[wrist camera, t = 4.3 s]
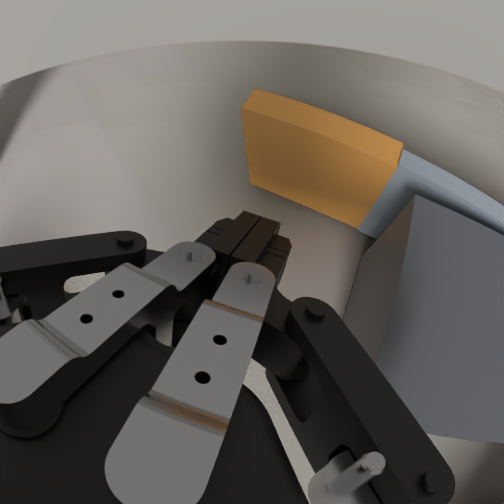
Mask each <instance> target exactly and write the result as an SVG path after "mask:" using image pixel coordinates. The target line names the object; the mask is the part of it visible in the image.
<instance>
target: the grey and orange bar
mask: <svg viewBox="0 0 504 504" xmlns="http://www.w3.org/2000/svg"><path fill="white" fill-rule="evenodd" d="M241 112H242V120H243V128H244V137H245V145H246V153H247V161H248V170H249V178H250V184H253V185H255V186H258V187H260V188H263V189H265V190H268V191H270V192H273V193H275V194H278V195H280V196H283V197H285V198H288V199H290V200H292V201H295V202H297V203H300V204H302V205H304V206H307V207H309V208H311V209H314V210H316V211H318V212H321V213H323V214H325V215H328V216H330V217H332V218H335V219H337V220H339V221H341V222H344V223H346V224H348V225H350V226H353V227H355V228H357V230H358V231H360V232H362V233H364V234H367V235H369V236H371V237H373V238H375V239H378V238H379V237H380V235H381V234H382V233H383V232H384V231H385V230H386V229H387V227H388V226H389V225H390V224H391V223H392V222H393V221H394V219H395V218H396V217H397V216H398V215H399V213H400V212H401V211H402V210H403V209H404V208H405V206H406V205H407V204H408V203H409V202H410V200H411V199H412V198H413V197H414V196H415V194H416V195H418V196H420V197H423V198H425V199H427V200H430V201H432V202H434V203H437V204H439V205H441V206H444V207H446V208H448V209H450V210H452V211H455V212H457V213H459V214H461V215H463V216H465V217H467V218H470V219H472V220H474V221H476V222H478V223H480V224H482V225H484V226H486V227H488V228H490V229H492V230H494V231H496V232H498V233H500V234H502V235H503V236H504V206H503V205H501V204H500V203H498V202H497V201H495V200H494V199H492V198H491V197H489V196H487V195H486V194H484V193H483V192H481V191H479V190H478V189H476V188H474V187H473V186H471V185H469V184H468V183H466V182H464V181H463V180H461V179H459V178H457V177H456V176H454V175H452V174H450V173H448V172H447V171H445V170H443V169H441V168H439V167H437V166H436V165H434V164H432V163H430V162H428V161H426V160H424V159H422V158H420V157H418V156H416V155H414V154H412V153H410V152H408V151H406V150H404V149H403V150H402V147H403V143H401V142H399V141H397V140H395V139H393V138H391V137H388V136H386V135H384V134H382V133H379V132H377V131H375V130H373V129H370V128H368V127H365V126H363V125H361V124H358V123H356V122H353V121H351V120H348V119H346V118H343V117H341V116H338V115H335V114H333V113H330V112H327V111H325V110H322V109H319V108H316V107H314V106H311V105H308V104H305V103H302V102H299V101H296V100H293V99H290V98H287V97H283V96H280V95H277V94H274V93H270V92H267V91H263V90H260V89H256V88H255V89H254V90H253V92H252V93H251V94H250V96H249V97H248V99H247V100H246V101H245V103H244V104H243V106H242V107H241ZM401 151H402V152H401Z"/></svg>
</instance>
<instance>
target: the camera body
mask: <svg viewBox="0 0 504 504" xmlns="http://www.w3.org/2000/svg"><path fill="white" fill-rule="evenodd" d="M342 321H343V322H344V323H345V325H346V326H347V327H348V329H349V330H350V331H351V332H352V334H353V335H354V336H355V338H356V339H357V340H358V342H359V343H360V344H361V346H362V347H363V348H364V350H365V351H366V352H367V354H368V355H369V356H370V358H371V359H372V360H373V362H374V363H375V364H376V366H377V367H378V368H379V370H380V371H381V372H382V374H383V375H384V376H385V378H386V379H387V380H388V382H389V383H390V385H391V386H392V387H393V389H394V390H395V391H396V393H397V394H398V395H399V397H400V398H401V400H402V401H403V402H404V404H405V405H406V406H407V408H408V409H409V411H410V412H411V413H412V415H413V416H414V417H415V419H416V420H417V422H418V423H419V424H420V426H421V427H422V429H423V430H424V431H425V433H427V434H433V435H439V436H445V437H452V438H459V439H467V440H475V441H484V442H495V443H504V236H503V235H502V234H500V233H498V232H496V231H494V230H492V229H490V228H488V227H486V226H484V225H482V224H480V223H478V222H476V221H474V220H472V219H470V218H467V217H465V216H463V215H461V214H459V213H457V212H455V211H452V210H450V209H448V208H446V207H444V206H441V205H439V204H437V203H434V202H432V201H430V200H427V199H425V198H423V197H420V196H418V195H416V194H415V196H414V197H413V198H412V199H411V200H410V202H409V203H408V204H407V205H406V206H405V208H404V209H403V210H402V211H401V212H400V213H399V215H398V216H397V217H396V218H395V219H394V221H393V222H392V223H391V224H390V225H389V226H388V227H387V229H386V230H385V231H384V232H383V233H382V234H381V235H380V237H379V238H378V239H377V240H376V241H375V242H374V243H373V244H372V245H371V247H370V248H369V249H368V250H367V251H366V252H365V253H364V254H363V255H362V257H361V260H360V263H359V267H358V270H357V274H356V277H355V281H354V284H353V288H352V291H351V294H350V298H349V301H348V304H347V307H346V311H345V314H344V317H343V320H342Z"/></svg>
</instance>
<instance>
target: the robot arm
mask: <svg viewBox="0 0 504 504" xmlns="http://www.w3.org/2000/svg"><path fill="white" fill-rule="evenodd" d="M279 229H280V223H279V222H276V221H273V220H270V219H267V218H264V217H261V216H259V215H256V214H253V213H249V212H246V211H243V212H242V213H241V214H240V215H239V216H238V217H237V218H236V219H235V220H232V219H230V218H225V219H222V220H218V221H217V222H216V223H214V224H213V225H212V227H210V228H209V229H208V230H207V231H205V232H204V233H203V234H202V235H201V236H200V237H199V238H198V239H196V240H195V241H194V242H182V243H178V244H176V245H175V246H173V247H172V248H170V249H169V250H167V251H166V252H161V251H155V250H149V249H146V248H147V241H146V239H145V237H144V236H142V235H141V234H139V233H136V232H132V231H116V232H108V233H100V234H91V235H84V236H76V237H68V238H61V239H53V240H46V241H39V242H32V243H25V244H18V245H11V246H5V247H0V504H309V503H308V500H307V498H306V496H305V494H304V492H303V490H302V487H301V485H300V483H299V481H298V479H297V477H296V474H295V472H294V470H293V468H292V465H291V463H290V461H289V459H288V457H287V454H286V452H285V450H284V447H283V445H282V443H281V441H280V438H279V436H278V434H277V431H276V429H275V427H274V424H273V422H272V420H271V417H270V415H269V413H268V411H267V410H266V408H265V407H264V405H263V404H262V402H261V401H260V400H259V399H258V397H257V396H256V395H255V394H254V393H253V392H252V391H251V390H250V389H249V388H247V387H246V386H245V385H244V384H242V383H243V381H244V378H245V375H246V372H247V369H248V366H249V363H250V360H251V358H252V359H254V360H255V361H256V362H258V363H259V364H261V365H262V366H263V367H265V368H266V372H265V373H266V377H267V380H268V382H269V384H270V386H271V388H272V390H273V392H274V394H275V396H276V398H277V400H278V402H279V404H280V406H281V408H282V410H283V412H284V414H285V416H286V418H287V420H288V422H289V424H290V426H291V428H292V430H293V432H294V434H295V436H296V438H297V440H298V441H299V443H300V445H301V447H302V449H303V451H304V453H305V455H306V457H307V459H308V461H309V463H310V464H311V466H312V468H313V470H314V472H315V475H314V476H313V477H312V478H311V480H310V482H309V485H308V497H309V500H310V503H311V504H447V503H448V502H449V501H450V500H451V498H452V496H453V494H454V490H455V479H454V475H453V473H452V470H451V469H450V467H449V466H448V464H447V463H446V461H445V460H444V458H443V457H442V456H441V454H440V453H439V451H438V450H437V448H436V447H435V446H434V444H433V443H432V441H431V440H430V438H429V437H428V436H427V434H426V433H425V431H424V430H423V429H422V427H421V426H420V424H419V423H418V422H417V420H416V419H415V417H414V416H413V415H412V413H411V412H410V411H409V409H408V408H407V406H406V405H405V404H404V402H403V401H402V400H401V398H400V397H399V395H398V394H397V393H396V391H395V390H394V389H393V387H392V386H391V385H390V383H389V382H388V380H387V379H386V378H385V376H384V375H383V374H382V372H381V371H380V370H379V368H378V367H377V366H376V364H375V363H374V362H373V360H372V359H371V358H370V356H369V355H368V354H367V352H366V351H365V350H364V348H363V347H362V346H361V344H360V343H359V342H358V340H357V339H356V338H355V336H354V335H353V334H352V332H351V331H350V330H349V329H348V327H347V326H346V325H345V323H344V322H343V321H342V319H341V318H340V317H339V315H338V314H337V313H336V312H335V310H334V309H333V308H332V307H331V306H330V305H328V304H327V303H325V302H323V301H321V300H319V299H316V298H311V297H301V298H298V299H296V300H294V301H293V302H291V301H290V300H288V299H287V298H285V297H284V296H283V295H282V294H281V293H280V292H279V291H278V289H277V287H278V284H279V282H280V280H281V277H282V274H283V271H284V268H285V265H286V262H287V259H288V256H289V253H290V250H291V247H292V246H291V243H290V240H289V239H288V238H285V237H282V236H279V235H278V232H279ZM99 272H105V276H104V277H102V278H101V279H99V280H98V281H96V282H95V283H94V284H92V285H91V286H89V287H88V288H86V289H85V290H83V291H82V292H78V293H68V292H66V291H65V290H64V283H65V281H66V280H67V279H69V278H70V277H74V276H80V275H87V274H93V273H99Z"/></svg>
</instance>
